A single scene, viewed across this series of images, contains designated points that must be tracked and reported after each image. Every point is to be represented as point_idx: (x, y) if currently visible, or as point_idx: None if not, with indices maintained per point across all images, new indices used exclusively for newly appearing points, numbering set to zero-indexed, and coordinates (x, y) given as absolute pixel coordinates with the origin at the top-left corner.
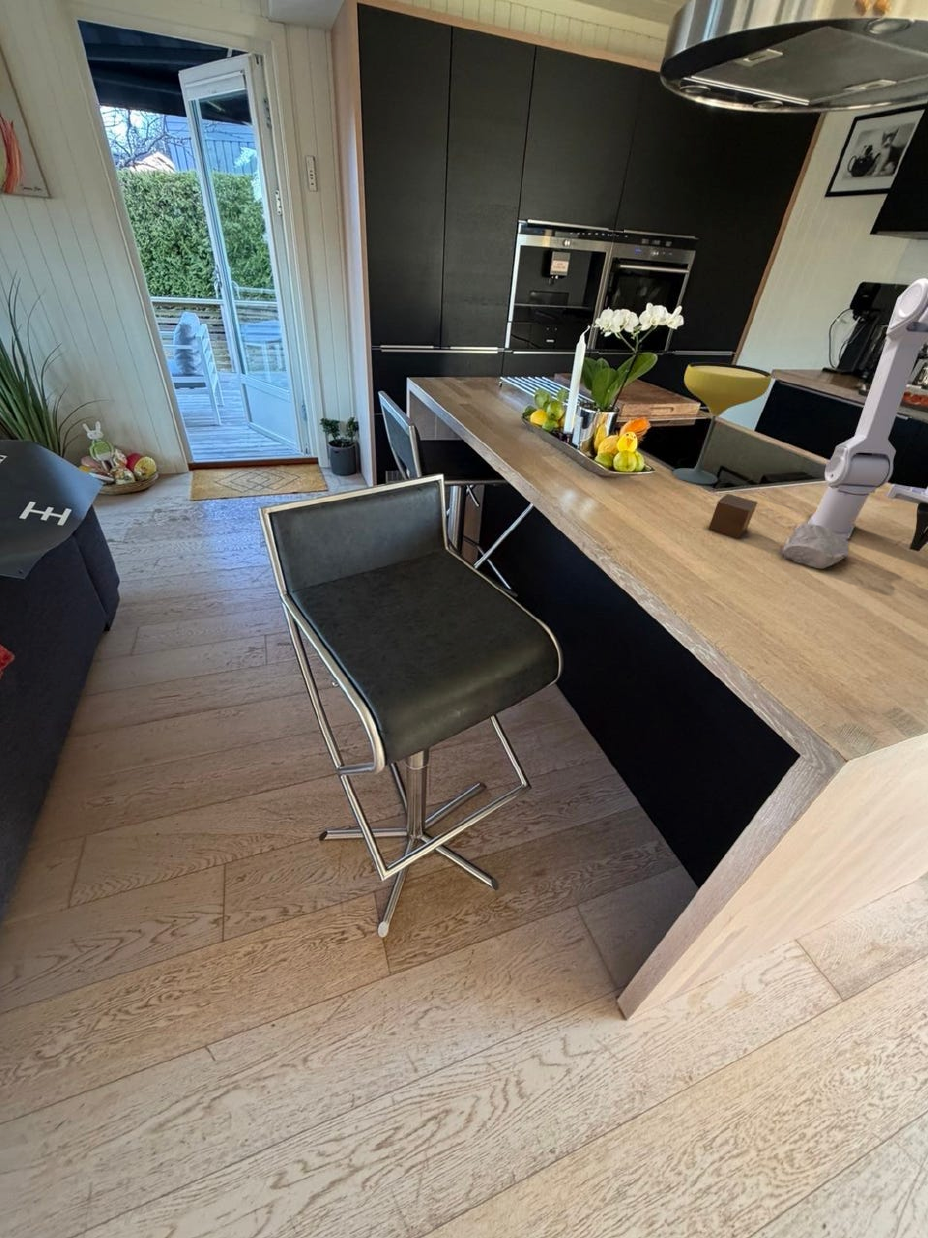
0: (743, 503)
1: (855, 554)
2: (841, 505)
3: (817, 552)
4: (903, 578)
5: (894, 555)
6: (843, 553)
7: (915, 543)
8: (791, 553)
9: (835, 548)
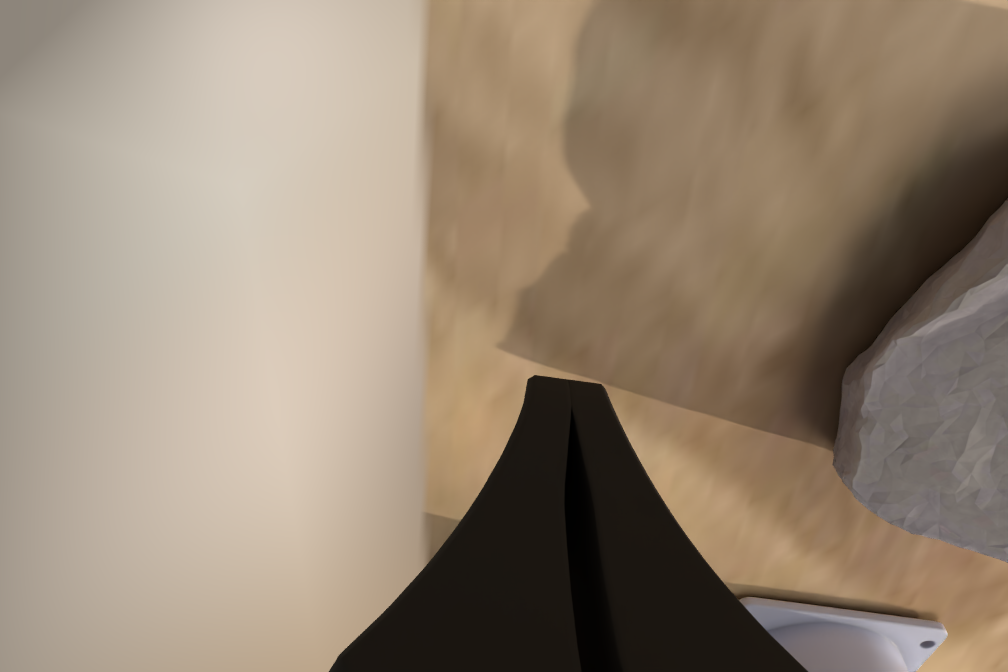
0: None
1: (730, 473)
2: None
3: None
4: (501, 325)
5: None
6: (927, 344)
7: (595, 416)
8: None
9: (1006, 359)
